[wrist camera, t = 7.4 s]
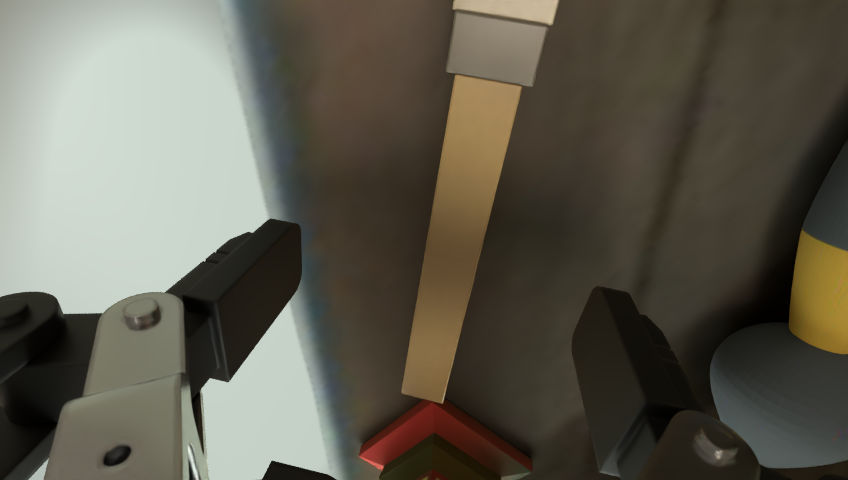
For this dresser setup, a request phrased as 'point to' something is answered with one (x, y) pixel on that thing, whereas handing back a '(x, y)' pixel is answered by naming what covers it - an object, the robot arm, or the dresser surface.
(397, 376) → the dresser surface
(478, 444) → the light fixture
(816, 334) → the paintbrush
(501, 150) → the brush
